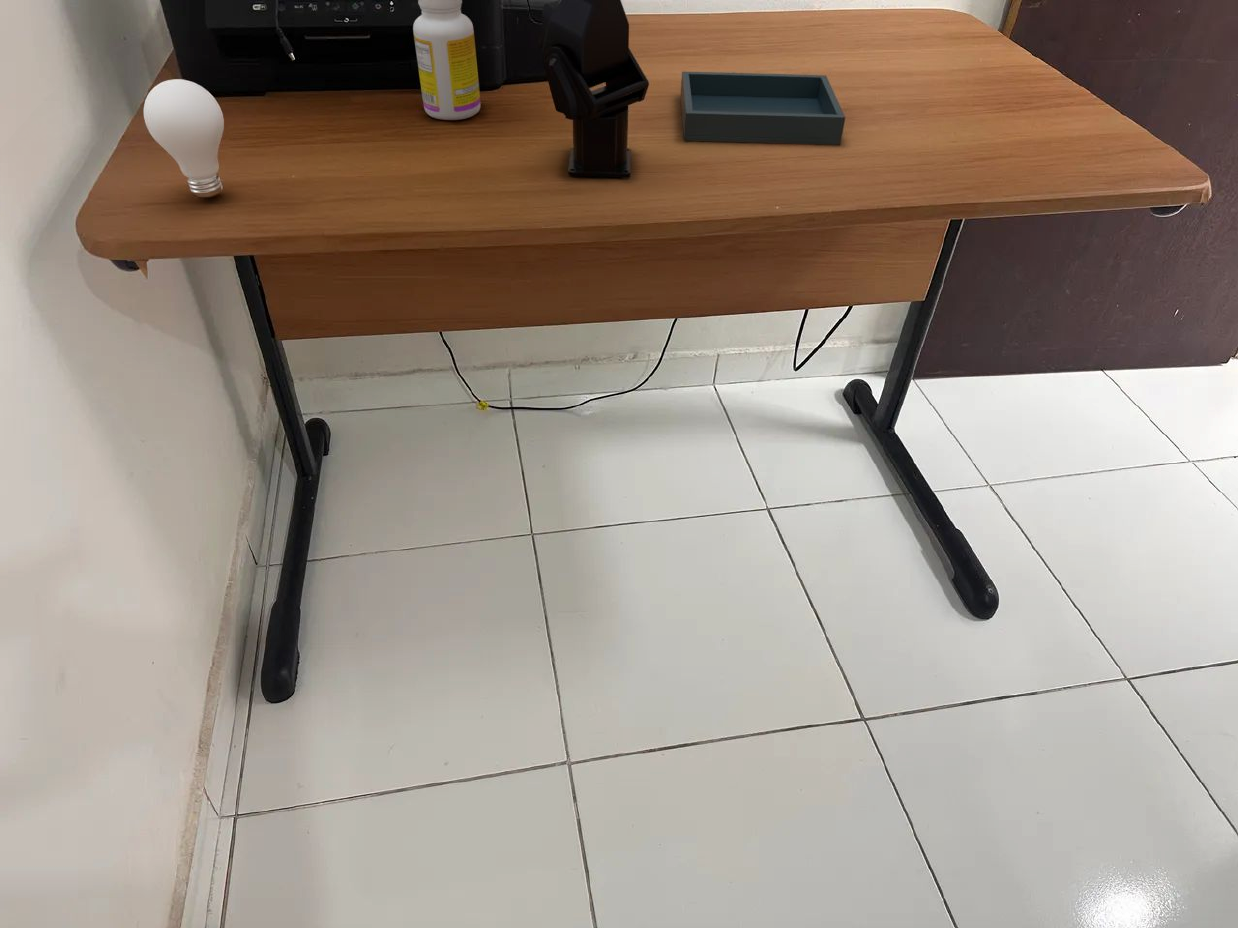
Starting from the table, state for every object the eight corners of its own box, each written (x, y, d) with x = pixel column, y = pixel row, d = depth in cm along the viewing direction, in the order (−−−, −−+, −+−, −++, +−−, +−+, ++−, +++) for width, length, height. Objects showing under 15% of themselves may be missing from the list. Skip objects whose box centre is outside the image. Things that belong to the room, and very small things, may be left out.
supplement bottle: (486, 103, 105) (476, -15, 96) (474, 124, 100) (462, 2, 91) (432, 100, 105) (417, -18, 97) (417, 120, 100) (400, -1, 92)
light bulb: (253, 183, 87) (221, 69, 80) (233, 213, 83) (198, 94, 75) (186, 182, 87) (148, 68, 80) (162, 212, 82) (120, 94, 75)
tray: (840, 145, 97) (845, 117, 95) (684, 141, 97) (685, 113, 95) (821, 101, 107) (826, 75, 105) (680, 97, 108) (681, 71, 105)
